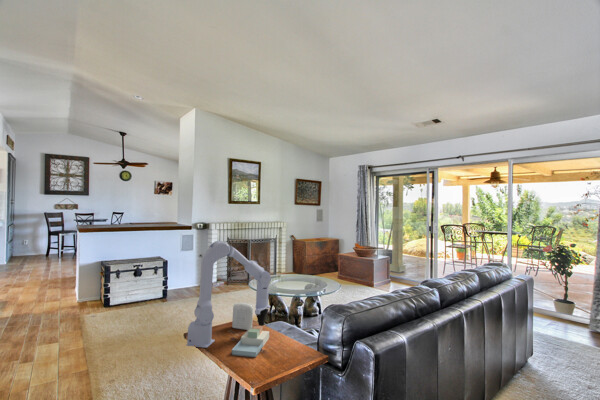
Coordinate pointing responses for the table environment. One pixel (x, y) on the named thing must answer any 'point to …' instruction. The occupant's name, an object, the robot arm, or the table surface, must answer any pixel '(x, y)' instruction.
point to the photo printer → (242, 316)
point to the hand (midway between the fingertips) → (261, 325)
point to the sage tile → (253, 333)
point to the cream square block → (255, 341)
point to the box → (246, 350)
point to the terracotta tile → (257, 328)
